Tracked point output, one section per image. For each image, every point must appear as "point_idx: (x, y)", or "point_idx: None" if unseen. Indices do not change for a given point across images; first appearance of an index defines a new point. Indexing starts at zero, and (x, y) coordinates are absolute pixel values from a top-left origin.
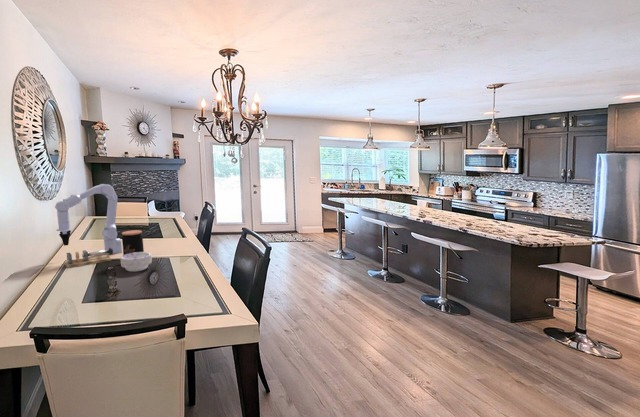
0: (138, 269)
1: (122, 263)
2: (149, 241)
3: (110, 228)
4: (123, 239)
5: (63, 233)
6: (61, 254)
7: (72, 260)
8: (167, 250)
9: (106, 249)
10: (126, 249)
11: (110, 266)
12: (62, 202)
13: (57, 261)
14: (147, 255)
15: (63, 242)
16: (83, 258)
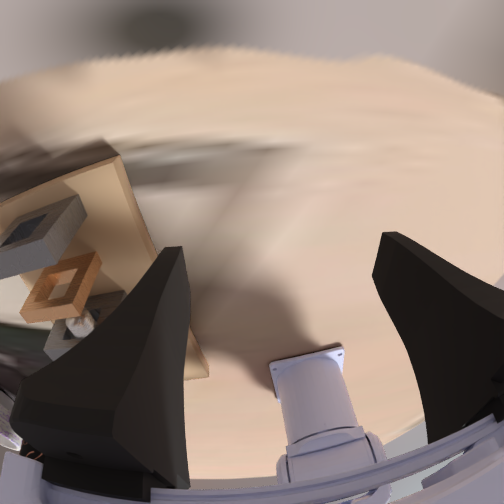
0: None
1: None
2: (402, 418)
3: None
4: None
5: (13, 470)
6: (494, 132)
7: (116, 224)
8: (213, 459)
9: (294, 385)
10: (21, 445)
11: (16, 361)
12: None
13: (265, 83)
14: (8, 441)
15: (142, 281)
16: (114, 297)
